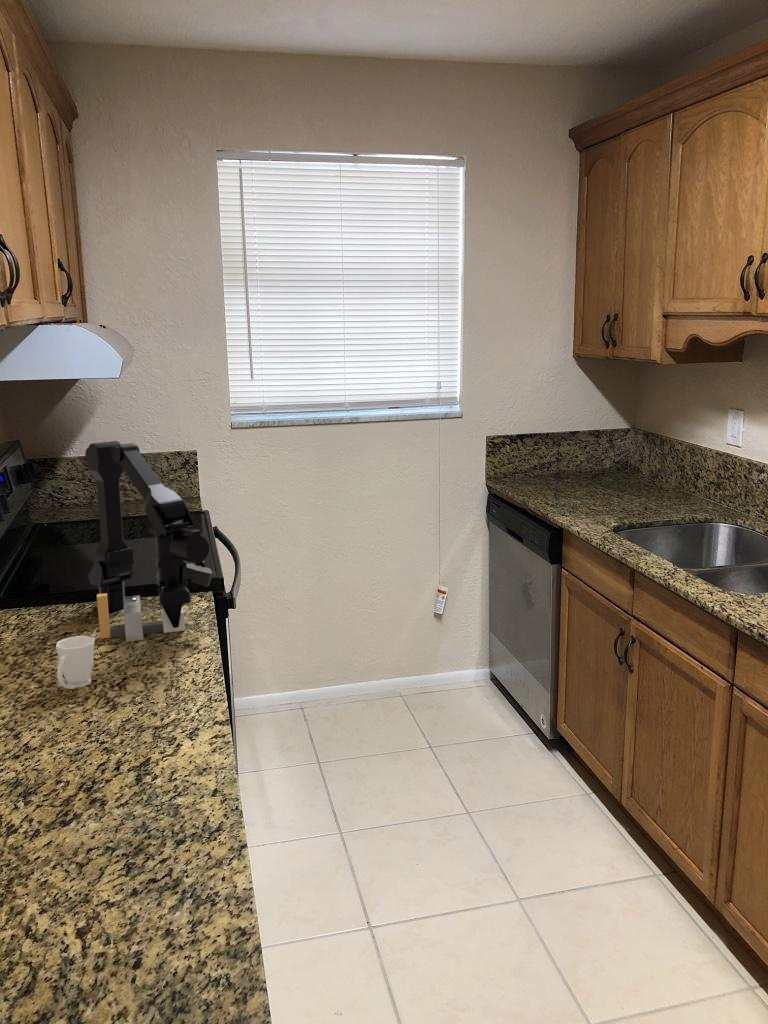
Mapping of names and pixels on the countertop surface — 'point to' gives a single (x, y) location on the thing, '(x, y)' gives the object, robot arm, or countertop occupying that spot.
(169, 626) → the multicoloured u-shaped piece
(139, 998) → the countertop surface
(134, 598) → the housing
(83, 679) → the cup
